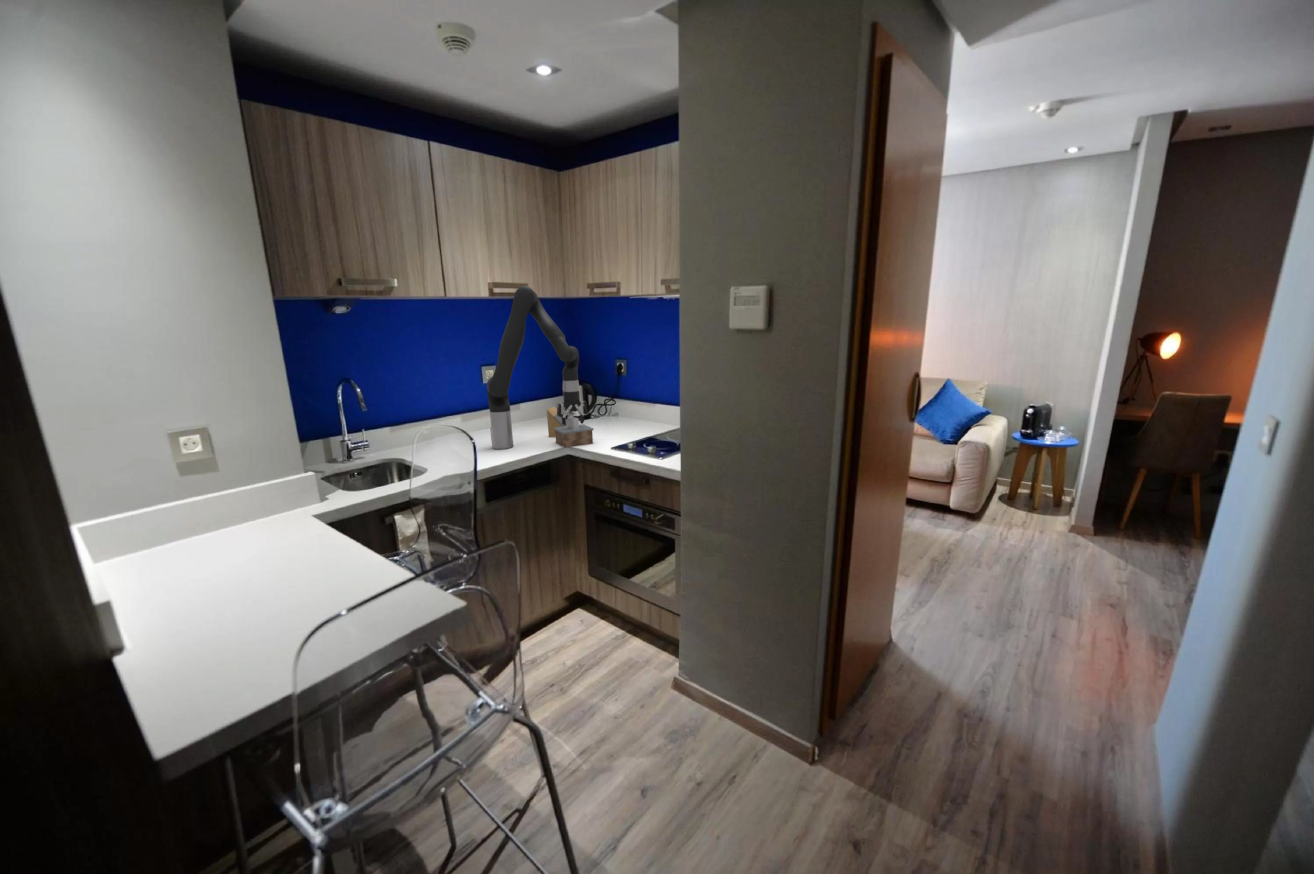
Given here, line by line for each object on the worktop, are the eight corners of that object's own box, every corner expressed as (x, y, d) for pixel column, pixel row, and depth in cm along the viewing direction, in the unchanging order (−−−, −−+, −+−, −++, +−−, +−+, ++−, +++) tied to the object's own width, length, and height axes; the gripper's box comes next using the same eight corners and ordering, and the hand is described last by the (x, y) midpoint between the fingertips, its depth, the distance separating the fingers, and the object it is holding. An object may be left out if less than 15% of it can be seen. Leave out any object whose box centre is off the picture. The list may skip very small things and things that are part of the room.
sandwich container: (576, 439, 259) (574, 409, 256) (548, 438, 263) (546, 409, 260) (583, 435, 267) (581, 406, 264) (556, 434, 271) (554, 406, 268)
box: (564, 448, 240) (563, 433, 239) (556, 443, 250) (555, 429, 249) (593, 444, 247) (592, 430, 245) (583, 439, 257) (582, 426, 255)
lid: (563, 435, 238) (562, 421, 237) (553, 431, 249) (552, 417, 248) (593, 431, 245) (593, 417, 244) (583, 427, 256) (582, 414, 255)
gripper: (559, 392, 236) (561, 427, 240) (588, 389, 243) (590, 423, 247) (553, 390, 243) (556, 424, 246) (582, 387, 250) (584, 421, 253)
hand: (573, 424), depth 246 cm, fingers open, 8 cm apart
